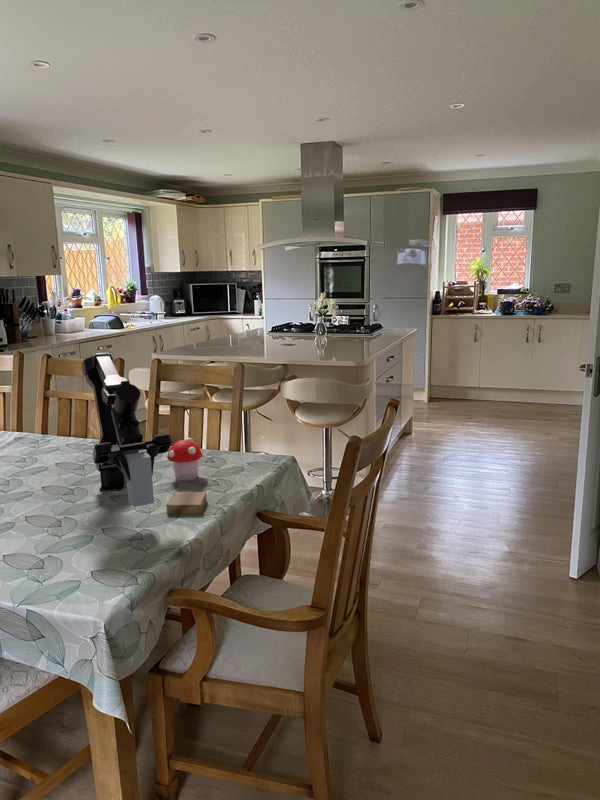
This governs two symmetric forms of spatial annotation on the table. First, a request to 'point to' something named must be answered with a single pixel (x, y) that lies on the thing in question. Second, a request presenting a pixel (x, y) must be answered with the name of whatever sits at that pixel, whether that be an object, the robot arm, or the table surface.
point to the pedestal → (186, 503)
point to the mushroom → (185, 459)
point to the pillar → (139, 479)
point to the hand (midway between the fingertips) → (140, 478)
